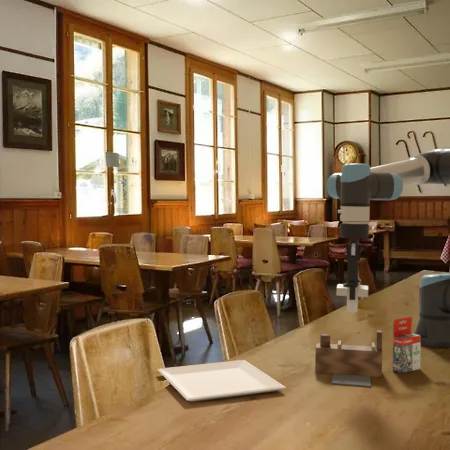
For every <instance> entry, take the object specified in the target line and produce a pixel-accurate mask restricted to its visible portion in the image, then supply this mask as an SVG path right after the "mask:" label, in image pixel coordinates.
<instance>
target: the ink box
mask: <svg viewBox="0 0 450 450" xmlns="http://www.w3.org/2000/svg"><path fill="white" fill-rule="evenodd" d="M403 321H404V322H403ZM400 322H402V323H400ZM412 323H413V317H412V316H409V317H403V318H401V317H400V318H397V319H394V320H393V328H392V329H393V331H392V333H393V335H392V366H391V367H392V371H393V372H397V373H398V374H399V373H400V374H405V373H408V372H409V373H410V372H412V371H419V370H421V348H422V347H421V346H422V345H421V335H416V334H413V333H412V327H413V326H412Z"/></svg>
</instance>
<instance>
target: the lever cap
mask: <svg viewBox="0 0 450 450" xmlns="http://www.w3.org/2000/svg"><path fill="white" fill-rule="evenodd" d="M345 284H346V283H338V284H337V285H336V292H335V293H336V296H340V297H347V287H345ZM357 287H358V298H369V285H365V284H364V285H363V284H358V286H357Z"/></svg>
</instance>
